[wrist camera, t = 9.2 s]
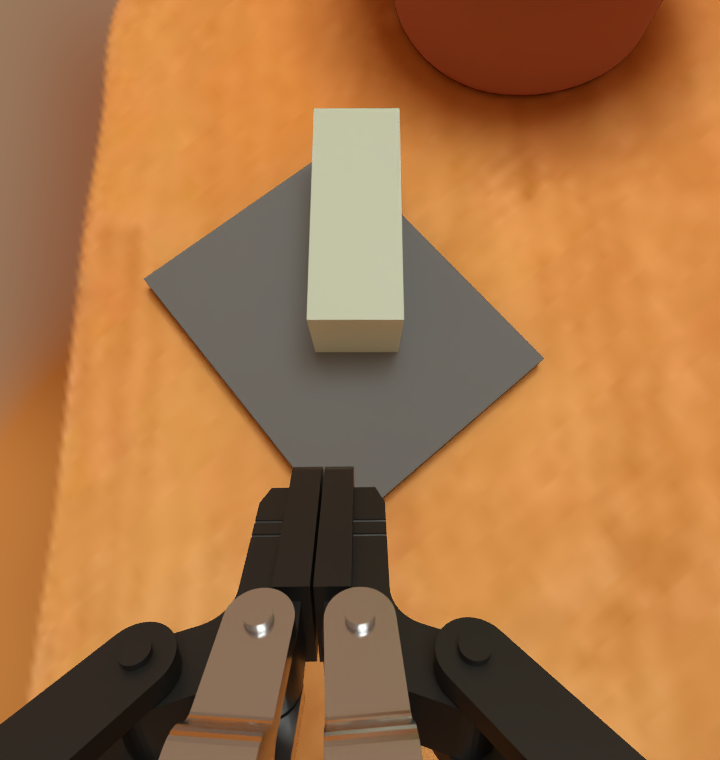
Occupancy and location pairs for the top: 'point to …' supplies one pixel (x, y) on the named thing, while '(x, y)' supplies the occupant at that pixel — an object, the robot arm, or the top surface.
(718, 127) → the top surface
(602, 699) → the top surface
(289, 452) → the rubber mat
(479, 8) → the potted cactus
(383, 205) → the sage block
